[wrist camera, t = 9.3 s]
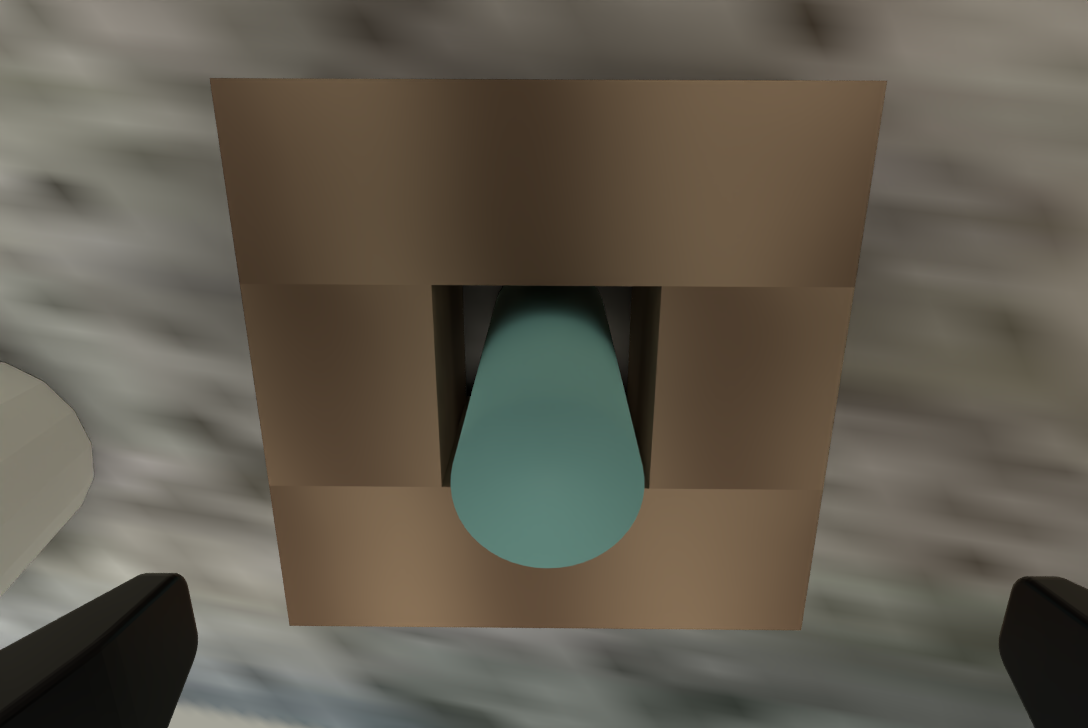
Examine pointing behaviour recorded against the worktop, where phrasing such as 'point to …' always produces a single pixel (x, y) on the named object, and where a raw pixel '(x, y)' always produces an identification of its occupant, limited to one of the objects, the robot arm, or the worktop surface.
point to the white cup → (37, 469)
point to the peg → (548, 433)
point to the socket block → (547, 260)
